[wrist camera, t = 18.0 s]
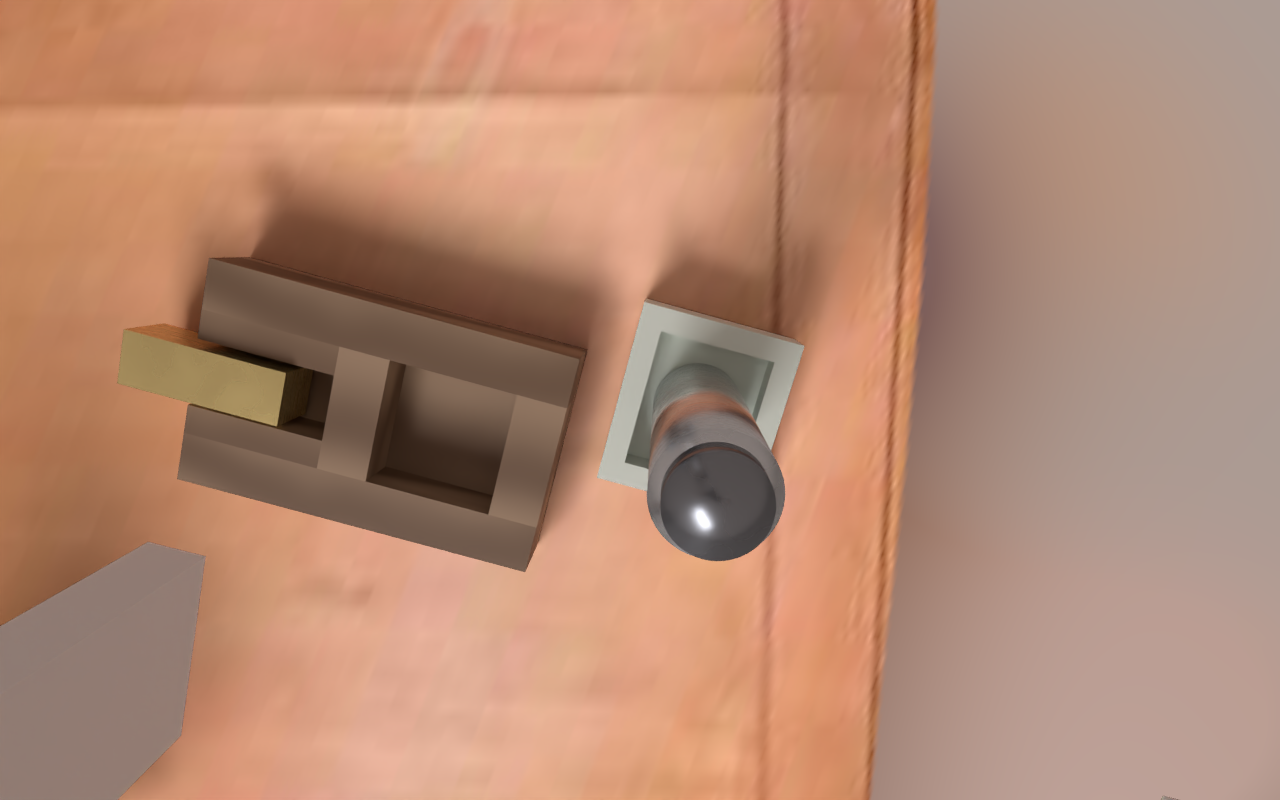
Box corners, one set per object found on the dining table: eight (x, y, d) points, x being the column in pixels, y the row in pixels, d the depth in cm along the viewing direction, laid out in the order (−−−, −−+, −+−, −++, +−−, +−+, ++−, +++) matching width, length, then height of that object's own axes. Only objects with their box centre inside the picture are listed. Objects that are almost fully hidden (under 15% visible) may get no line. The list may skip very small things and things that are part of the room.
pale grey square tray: (646, 298, 33) (644, 301, 30) (794, 339, 33) (804, 346, 31) (601, 461, 34) (597, 477, 32) (743, 500, 35) (749, 518, 32)
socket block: (249, 257, 33) (209, 257, 30) (587, 349, 33) (579, 359, 31) (218, 460, 35) (177, 478, 32) (536, 545, 35) (525, 572, 33)
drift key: (163, 323, 33) (123, 329, 30) (314, 364, 33) (285, 373, 31) (157, 373, 33) (117, 383, 31) (305, 413, 34) (276, 426, 31)
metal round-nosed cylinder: (666, 352, 32) (668, 419, 20) (752, 376, 32) (809, 458, 20) (642, 436, 33) (629, 553, 20) (727, 459, 33) (766, 590, 21)
